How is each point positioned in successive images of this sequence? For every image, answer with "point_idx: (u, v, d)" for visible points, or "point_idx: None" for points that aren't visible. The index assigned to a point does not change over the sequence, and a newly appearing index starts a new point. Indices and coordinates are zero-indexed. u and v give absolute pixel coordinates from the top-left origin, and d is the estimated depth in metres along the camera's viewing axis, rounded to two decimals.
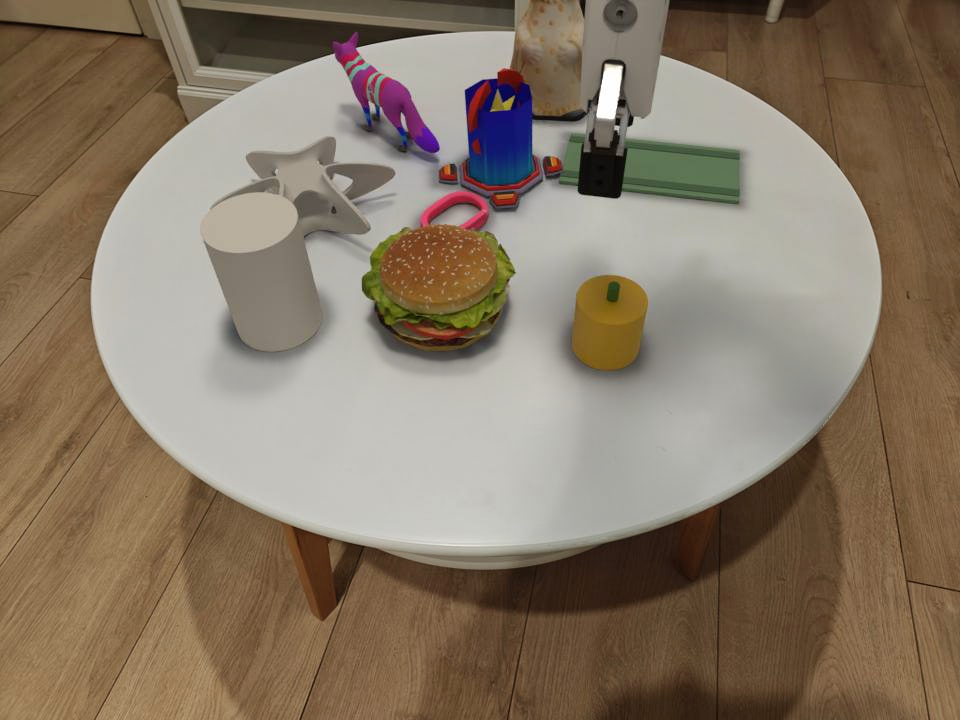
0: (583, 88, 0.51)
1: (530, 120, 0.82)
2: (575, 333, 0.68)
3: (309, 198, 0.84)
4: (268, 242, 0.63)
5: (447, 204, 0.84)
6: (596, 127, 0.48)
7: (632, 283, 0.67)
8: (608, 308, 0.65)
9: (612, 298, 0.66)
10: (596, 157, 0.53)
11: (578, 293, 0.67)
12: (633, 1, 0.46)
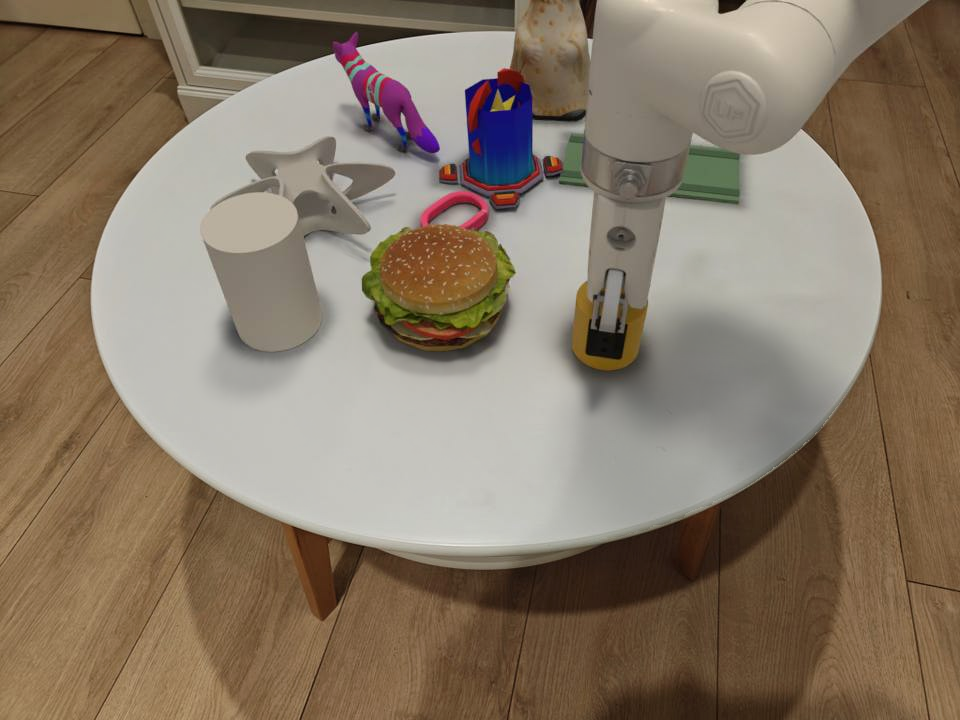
0: (589, 286, 0.59)
1: (530, 120, 0.82)
2: (575, 333, 0.68)
3: (309, 198, 0.84)
4: (268, 242, 0.63)
5: (447, 204, 0.84)
6: (600, 330, 0.59)
7: None
8: None
9: None
10: (601, 332, 0.63)
11: (578, 293, 0.67)
12: (632, 230, 0.54)
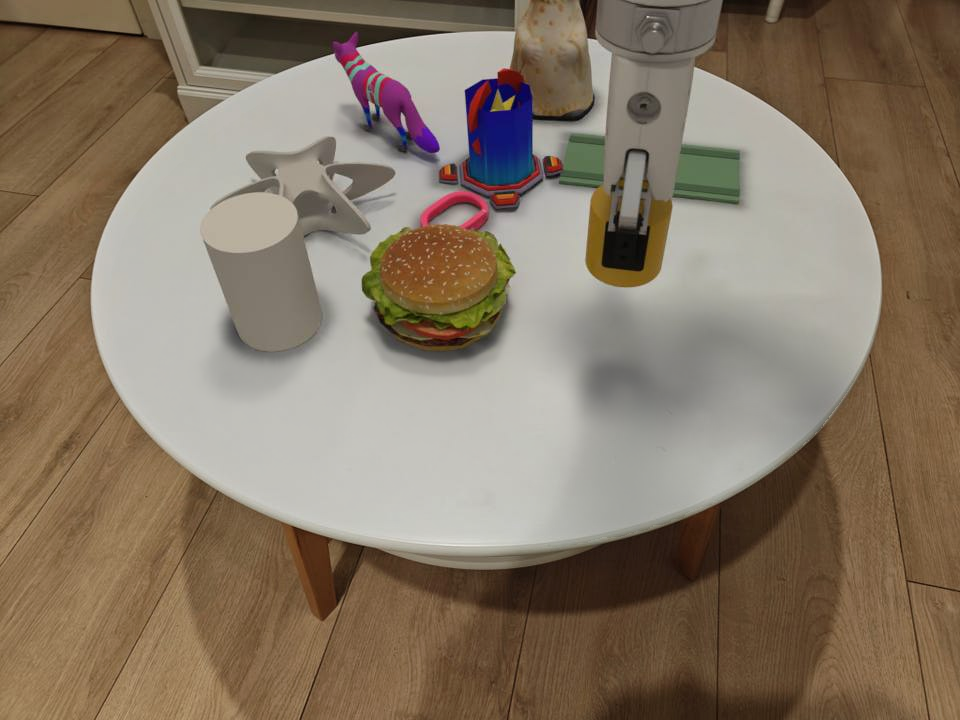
0: (607, 174, 0.51)
1: (530, 120, 0.82)
2: (589, 245, 0.60)
3: (309, 197, 0.84)
4: (268, 242, 0.63)
5: (447, 204, 0.84)
6: (620, 223, 0.51)
7: None
8: None
9: None
10: (620, 235, 0.55)
11: (593, 197, 0.59)
12: (657, 96, 0.47)
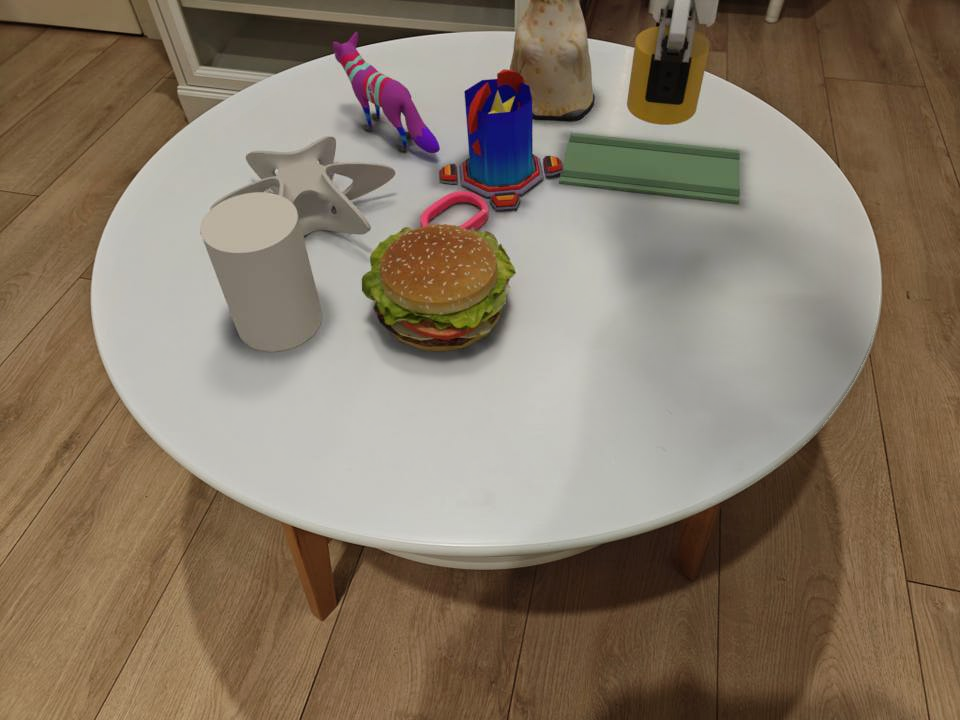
0: None
1: (530, 121, 0.82)
2: (633, 86, 0.67)
3: (309, 198, 0.84)
4: (268, 242, 0.63)
5: (447, 204, 0.84)
6: (669, 41, 0.57)
7: None
8: None
9: None
10: (665, 64, 0.62)
11: (637, 38, 0.65)
12: None
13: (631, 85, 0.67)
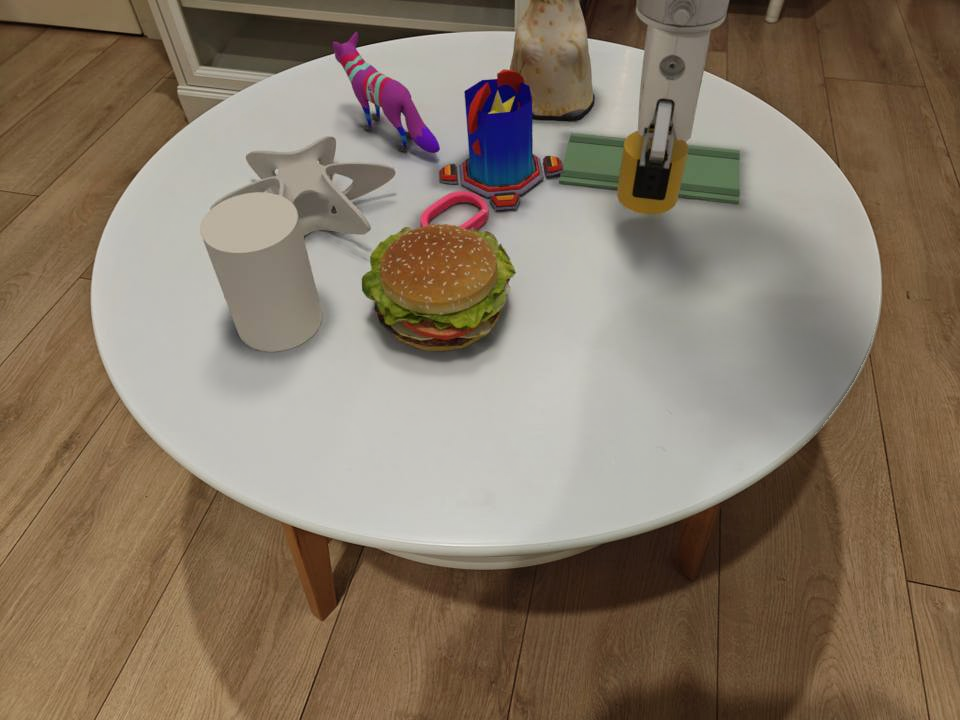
0: (641, 119, 0.68)
1: (530, 121, 0.82)
2: (621, 181, 0.77)
3: (309, 198, 0.84)
4: (268, 242, 0.63)
5: (447, 204, 0.84)
6: (651, 156, 0.67)
7: None
8: None
9: None
10: (648, 169, 0.72)
11: (626, 141, 0.75)
12: (682, 58, 0.63)
13: (620, 180, 0.77)
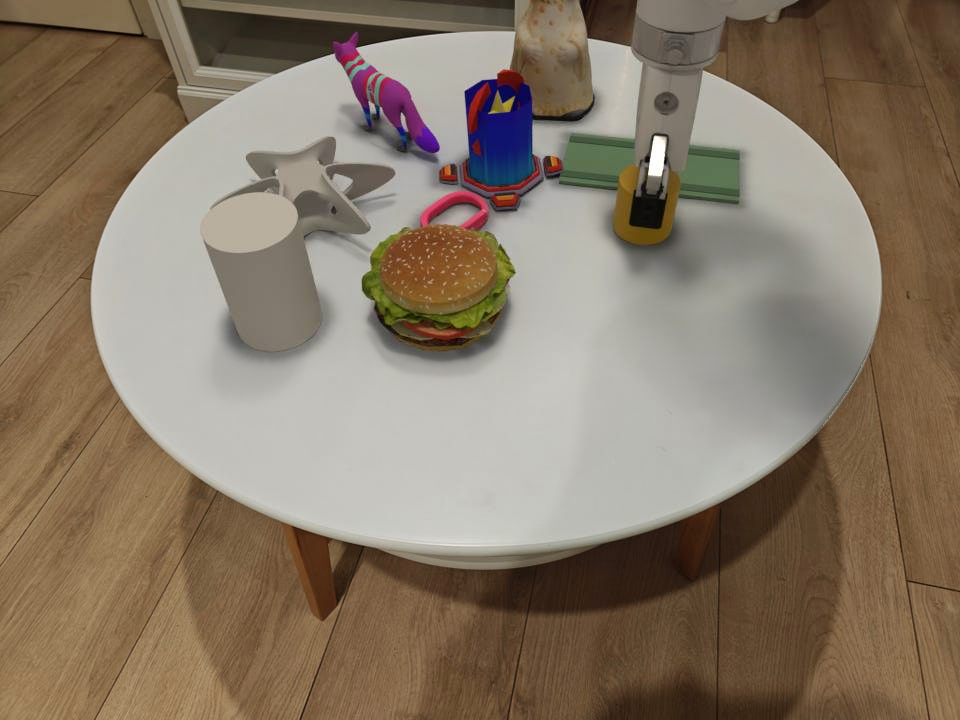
0: (637, 151, 0.70)
1: (530, 121, 0.82)
2: (617, 212, 0.80)
3: (309, 197, 0.84)
4: (268, 242, 0.63)
5: (447, 204, 0.84)
6: (648, 181, 0.68)
7: None
8: None
9: None
10: (644, 200, 0.72)
11: (621, 175, 0.78)
12: (676, 95, 0.65)
13: (616, 211, 0.80)
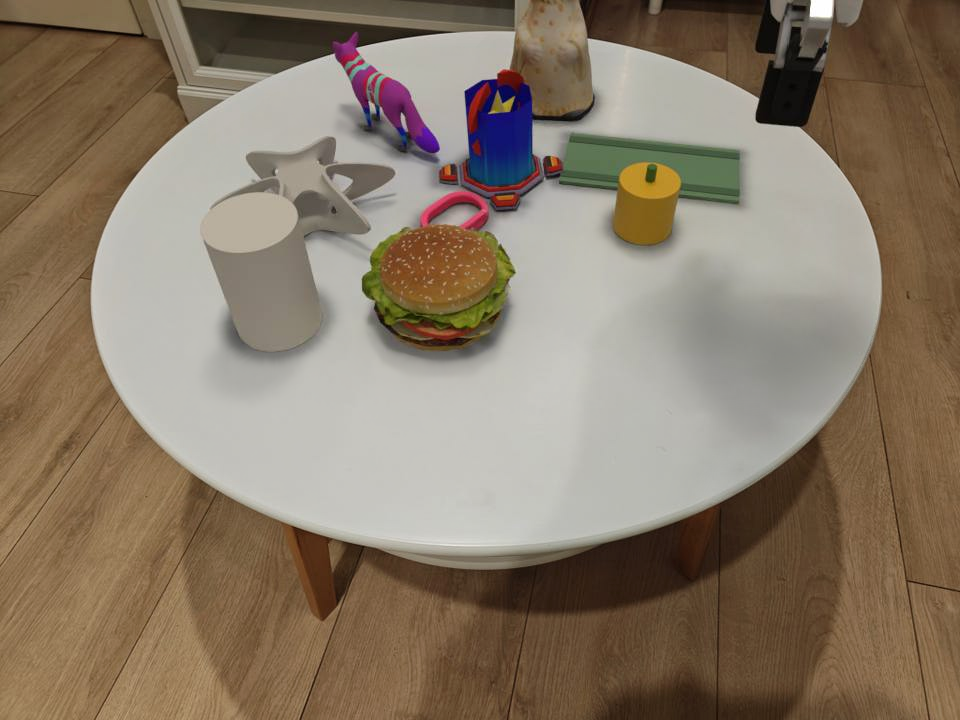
0: None
1: (530, 121, 0.82)
2: (617, 212, 0.80)
3: (309, 198, 0.84)
4: (268, 242, 0.63)
5: (447, 204, 0.84)
6: (808, 28, 0.41)
7: (666, 168, 0.79)
8: (647, 186, 0.77)
9: (650, 178, 0.77)
10: (788, 74, 0.46)
11: (621, 175, 0.78)
12: None
13: (616, 211, 0.80)
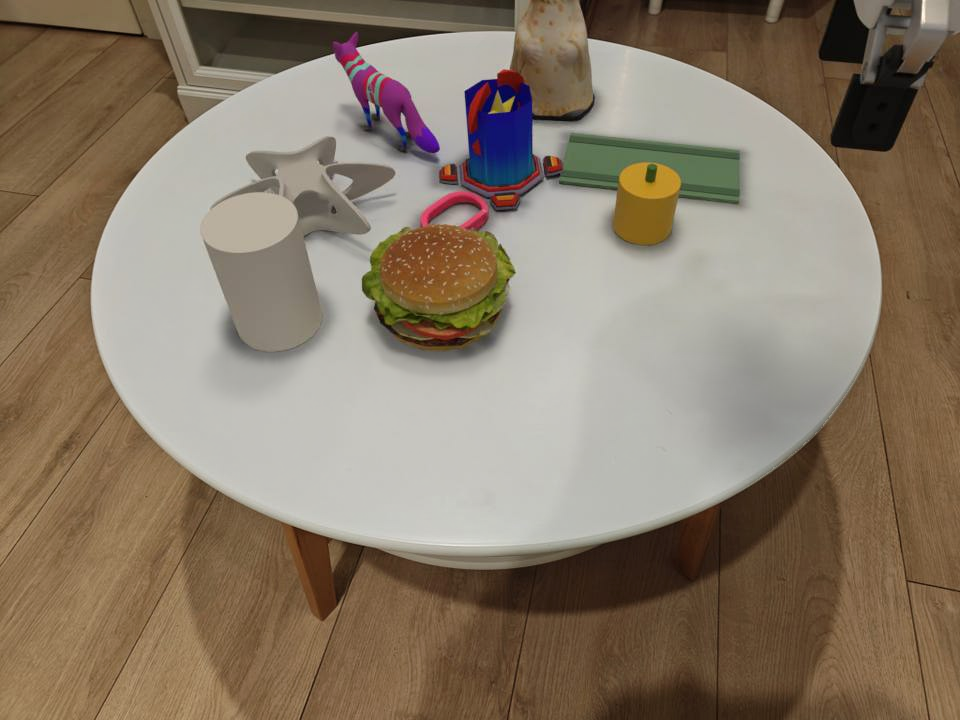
0: None
1: (530, 121, 0.82)
2: (617, 212, 0.80)
3: (309, 198, 0.84)
4: (268, 242, 0.63)
5: (447, 204, 0.84)
6: (917, 38, 0.34)
7: (666, 168, 0.79)
8: (647, 186, 0.77)
9: (650, 178, 0.77)
10: (878, 91, 0.38)
11: (621, 175, 0.78)
12: None
13: (616, 211, 0.80)
